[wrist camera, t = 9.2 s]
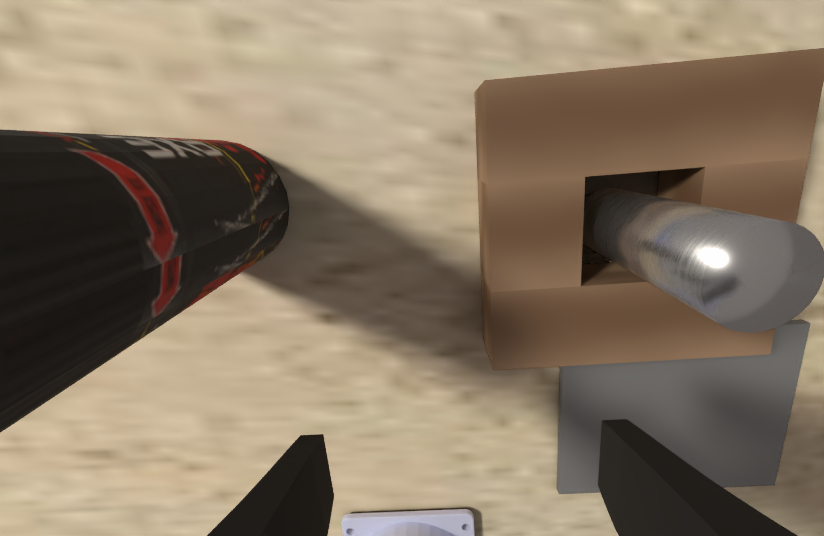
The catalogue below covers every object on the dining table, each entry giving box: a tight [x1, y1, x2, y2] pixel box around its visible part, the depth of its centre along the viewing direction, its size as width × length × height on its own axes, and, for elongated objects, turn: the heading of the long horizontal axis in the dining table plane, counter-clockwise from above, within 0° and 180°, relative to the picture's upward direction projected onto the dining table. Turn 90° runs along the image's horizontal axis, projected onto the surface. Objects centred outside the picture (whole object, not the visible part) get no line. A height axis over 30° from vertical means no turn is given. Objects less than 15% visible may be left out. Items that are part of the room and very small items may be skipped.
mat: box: [557, 320, 810, 494], centre depth 21 cm, size 10×12×1 cm
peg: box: [583, 188, 824, 333], centre depth 14 cm, size 3×3×9 cm
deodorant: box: [0, 130, 289, 432], centre depth 12 cm, size 6×6×15 cm
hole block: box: [475, 48, 824, 370], centre depth 17 cm, size 12×12×3 cm
